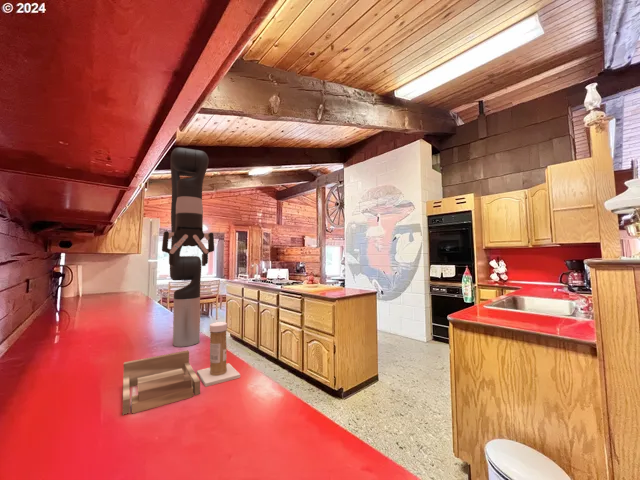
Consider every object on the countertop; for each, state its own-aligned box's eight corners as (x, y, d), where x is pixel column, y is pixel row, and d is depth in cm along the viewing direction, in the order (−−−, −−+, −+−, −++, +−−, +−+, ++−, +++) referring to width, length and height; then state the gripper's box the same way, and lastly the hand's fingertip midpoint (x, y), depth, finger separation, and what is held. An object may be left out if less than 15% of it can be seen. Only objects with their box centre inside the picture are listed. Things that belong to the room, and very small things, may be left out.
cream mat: (197, 373, 78) (197, 370, 78) (229, 365, 84) (229, 363, 84) (205, 386, 70) (205, 383, 70) (240, 377, 75) (240, 374, 75)
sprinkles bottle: (230, 371, 78) (230, 322, 78) (215, 377, 74) (216, 326, 75) (220, 367, 80) (220, 320, 81) (205, 373, 77) (206, 323, 77)
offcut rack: (123, 386, 71) (123, 362, 71) (187, 371, 80) (188, 350, 80) (122, 416, 58) (123, 386, 58) (200, 394, 66) (200, 368, 67)
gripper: (210, 216, 92) (210, 265, 91) (161, 213, 84) (160, 266, 83) (216, 213, 86) (216, 265, 85) (164, 209, 78) (163, 267, 77)
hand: (188, 266), depth 84 cm, fingers open, 8 cm apart
